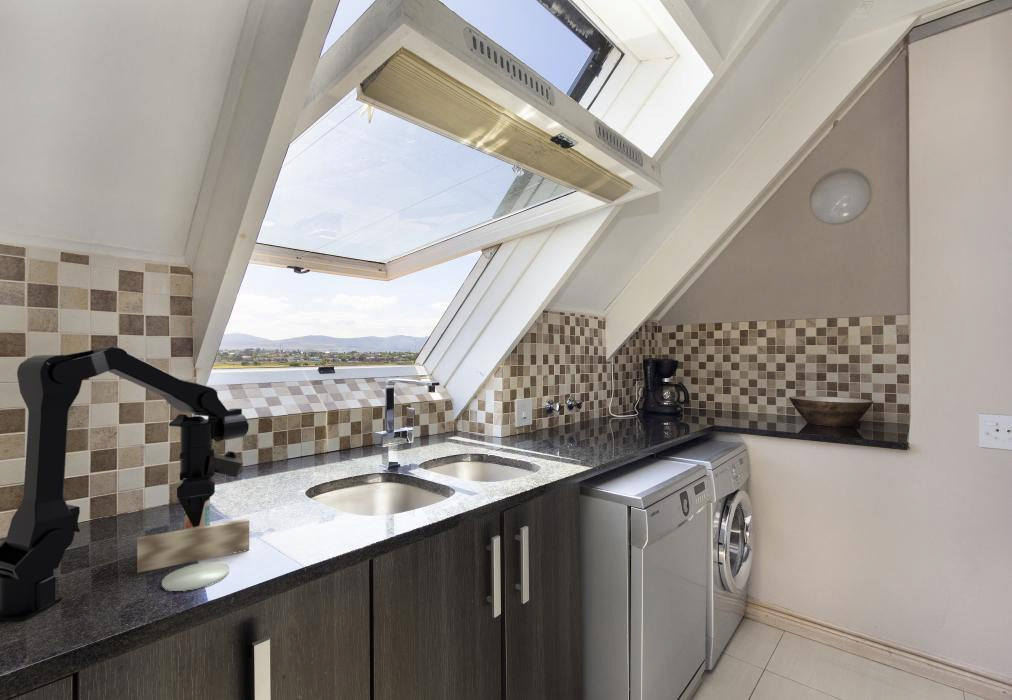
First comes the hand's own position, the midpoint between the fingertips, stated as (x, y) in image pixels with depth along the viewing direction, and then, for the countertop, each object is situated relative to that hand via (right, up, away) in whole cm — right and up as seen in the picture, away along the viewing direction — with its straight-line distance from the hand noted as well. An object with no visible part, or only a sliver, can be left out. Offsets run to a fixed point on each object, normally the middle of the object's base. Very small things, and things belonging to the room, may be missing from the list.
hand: (196, 519), depth 99 cm
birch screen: (+5, -5, -8) cm, 10 cm away
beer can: (0, -5, 0) cm, 5 cm away
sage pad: (+10, -5, -15) cm, 19 cm away
